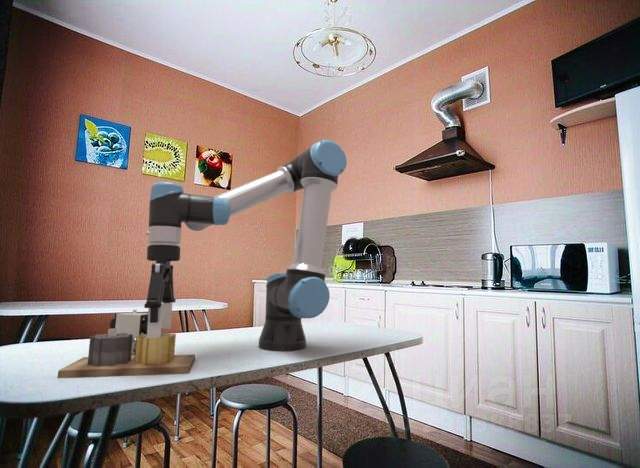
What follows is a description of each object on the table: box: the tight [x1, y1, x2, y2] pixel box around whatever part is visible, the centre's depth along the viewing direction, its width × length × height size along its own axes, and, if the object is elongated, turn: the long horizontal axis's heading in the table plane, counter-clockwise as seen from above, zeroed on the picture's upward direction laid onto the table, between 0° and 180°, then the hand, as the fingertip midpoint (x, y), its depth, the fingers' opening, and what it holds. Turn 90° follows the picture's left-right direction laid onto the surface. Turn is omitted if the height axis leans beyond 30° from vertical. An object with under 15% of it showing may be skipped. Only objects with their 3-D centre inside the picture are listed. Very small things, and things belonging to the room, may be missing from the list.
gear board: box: [57, 328, 196, 379], centre depth 84 cm, size 26×13×9 cm, turn 103°
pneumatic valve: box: [109, 309, 148, 356], centre depth 100 cm, size 6×12×12 cm, turn 79°
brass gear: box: [134, 332, 177, 365], centre depth 85 cm, size 8×8×6 cm
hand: (160, 332), depth 86 cm, fingers open, 13 cm apart
